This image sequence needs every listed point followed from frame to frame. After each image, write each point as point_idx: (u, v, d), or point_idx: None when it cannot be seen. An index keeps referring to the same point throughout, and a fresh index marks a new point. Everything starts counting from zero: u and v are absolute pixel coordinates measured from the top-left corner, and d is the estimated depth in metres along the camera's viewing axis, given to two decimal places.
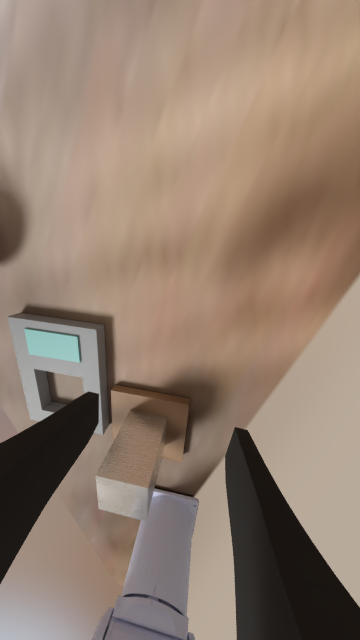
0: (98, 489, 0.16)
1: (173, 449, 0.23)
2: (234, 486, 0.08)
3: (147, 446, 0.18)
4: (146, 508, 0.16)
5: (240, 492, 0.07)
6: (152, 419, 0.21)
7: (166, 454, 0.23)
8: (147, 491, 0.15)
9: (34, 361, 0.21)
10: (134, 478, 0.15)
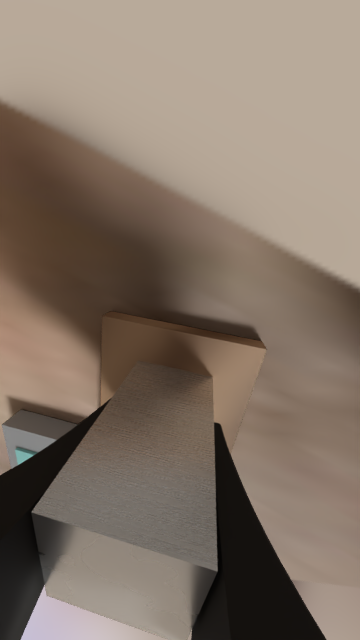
0: (96, 612, 0.06)
1: (224, 362, 0.10)
2: None
3: None
4: (140, 546, 0.04)
5: None
6: None
7: (239, 379, 0.10)
8: (53, 516, 0.04)
9: None
10: None
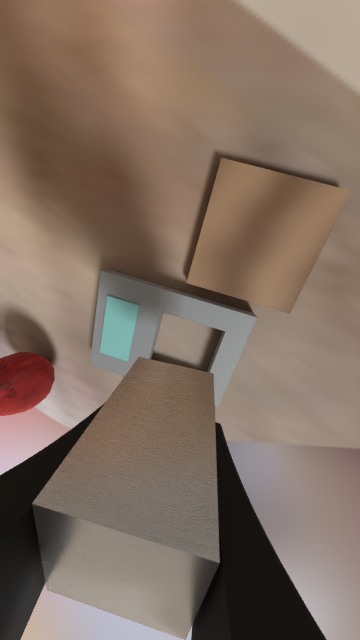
0: (97, 606, 0.06)
1: (314, 203, 0.13)
2: None
3: None
4: (142, 537, 0.04)
5: None
6: None
7: (322, 220, 0.13)
8: (54, 508, 0.04)
9: None
10: None
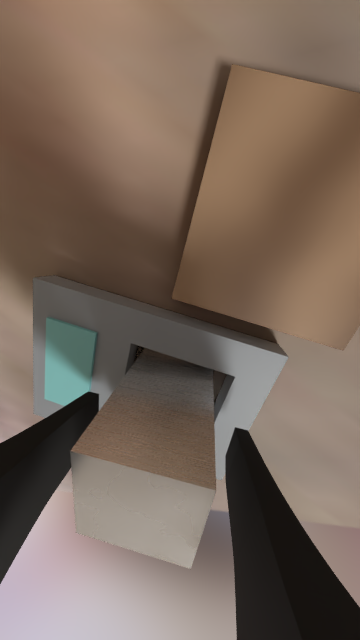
0: (118, 544, 0.07)
1: None
2: (234, 486, 0.08)
3: None
4: (156, 474, 0.05)
5: (240, 492, 0.07)
6: None
7: None
8: (87, 454, 0.06)
9: None
10: None
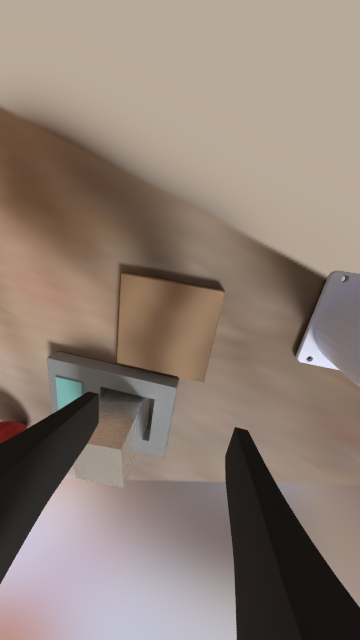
0: (93, 480, 0.16)
1: (199, 302, 0.16)
2: (234, 486, 0.08)
3: None
4: (100, 446, 0.15)
5: (240, 492, 0.07)
6: None
7: (209, 313, 0.16)
8: None
9: None
10: None
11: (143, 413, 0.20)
